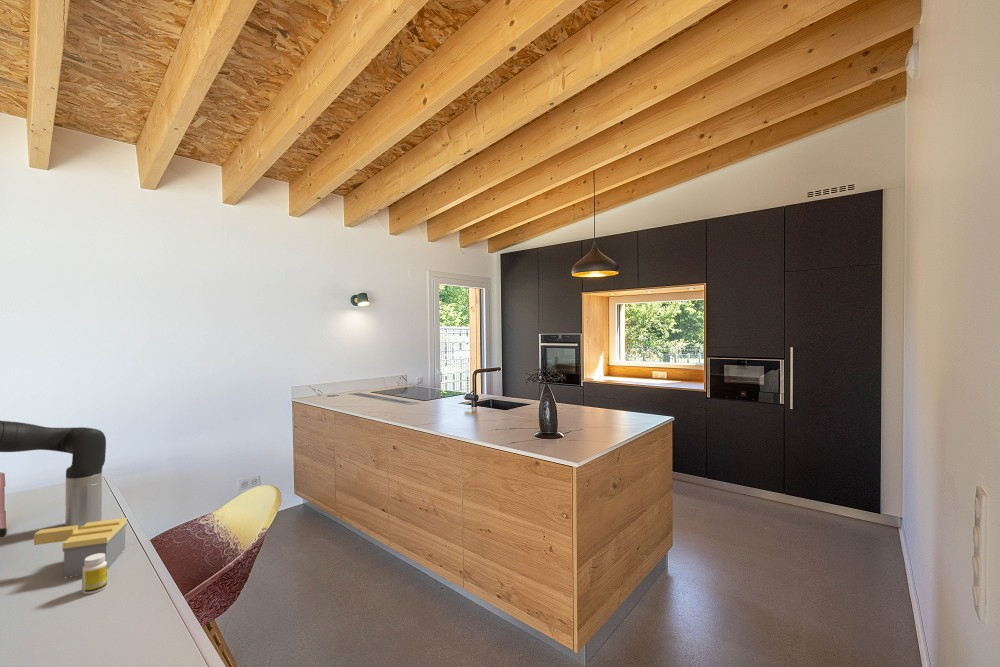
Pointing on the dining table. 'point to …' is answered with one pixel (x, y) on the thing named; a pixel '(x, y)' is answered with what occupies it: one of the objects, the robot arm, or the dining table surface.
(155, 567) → the dining table surface
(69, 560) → the grey box
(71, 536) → the lid
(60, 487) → the dining table surface
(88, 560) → the supplement bottle
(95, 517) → the robot arm
